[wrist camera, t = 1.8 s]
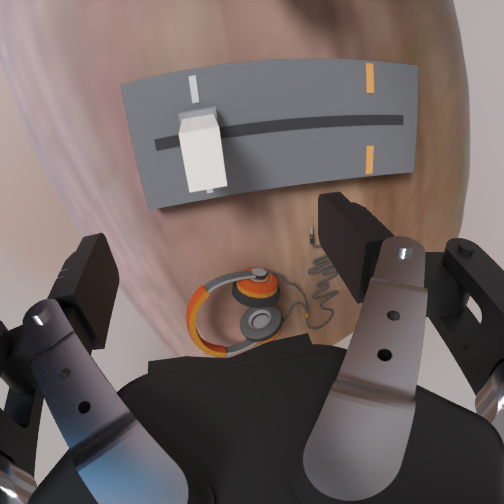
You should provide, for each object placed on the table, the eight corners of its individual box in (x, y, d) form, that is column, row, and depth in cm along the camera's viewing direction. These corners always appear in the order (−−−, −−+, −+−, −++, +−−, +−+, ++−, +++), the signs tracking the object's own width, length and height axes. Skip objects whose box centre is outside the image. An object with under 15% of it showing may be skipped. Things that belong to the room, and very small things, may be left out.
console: (125, 83, 23) (120, 84, 21) (406, 64, 26) (418, 65, 24) (150, 201, 30) (148, 210, 28) (403, 166, 32) (414, 172, 31)
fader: (178, 112, 24) (173, 127, 18) (214, 106, 24) (222, 118, 18) (188, 167, 26) (187, 200, 20) (222, 161, 27) (232, 192, 21)
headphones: (347, 331, 42) (212, 390, 37) (326, 309, 46) (201, 361, 41) (355, 226, 33) (173, 292, 28) (328, 208, 37) (163, 262, 32)
